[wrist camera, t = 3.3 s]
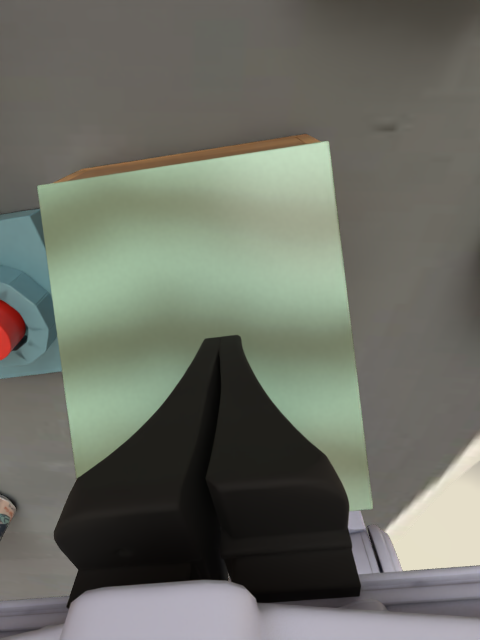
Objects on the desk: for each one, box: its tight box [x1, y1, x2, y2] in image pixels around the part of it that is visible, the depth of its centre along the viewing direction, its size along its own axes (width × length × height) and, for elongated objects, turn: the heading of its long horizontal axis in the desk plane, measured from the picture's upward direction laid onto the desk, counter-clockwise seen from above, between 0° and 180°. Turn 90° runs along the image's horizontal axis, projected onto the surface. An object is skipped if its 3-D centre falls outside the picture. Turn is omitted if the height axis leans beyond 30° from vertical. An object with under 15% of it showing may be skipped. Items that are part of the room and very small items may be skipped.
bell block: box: [0, 209, 62, 379], centre depth 22 cm, size 11×8×3 cm
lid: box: [37, 141, 373, 511], centre depth 15 cm, size 15×12×1 cm
